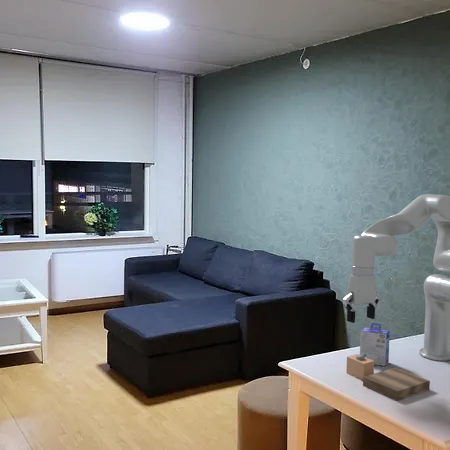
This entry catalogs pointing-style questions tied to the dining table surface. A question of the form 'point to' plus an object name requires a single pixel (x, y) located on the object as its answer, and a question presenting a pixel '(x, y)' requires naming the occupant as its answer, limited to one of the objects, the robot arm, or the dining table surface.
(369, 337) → the ink cartridge box
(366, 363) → the block
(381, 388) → the wooden square tile
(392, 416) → the dining table surface
